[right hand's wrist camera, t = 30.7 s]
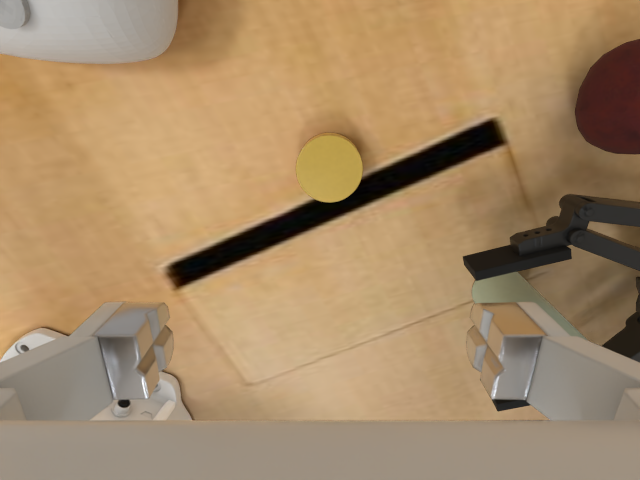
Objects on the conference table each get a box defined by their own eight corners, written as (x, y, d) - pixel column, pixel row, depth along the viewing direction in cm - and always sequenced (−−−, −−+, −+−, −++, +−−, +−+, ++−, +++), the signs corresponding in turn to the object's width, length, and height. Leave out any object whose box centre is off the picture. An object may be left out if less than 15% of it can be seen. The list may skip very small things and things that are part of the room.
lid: (285, 165, 32) (281, 170, 30) (329, 118, 30) (329, 120, 28) (329, 207, 33) (329, 215, 31) (373, 164, 32) (376, 169, 29)
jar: (525, 305, 36) (669, 463, 21) (474, 316, 37) (578, 477, 21) (521, 261, 34) (673, 397, 19) (468, 273, 35) (574, 414, 20)
